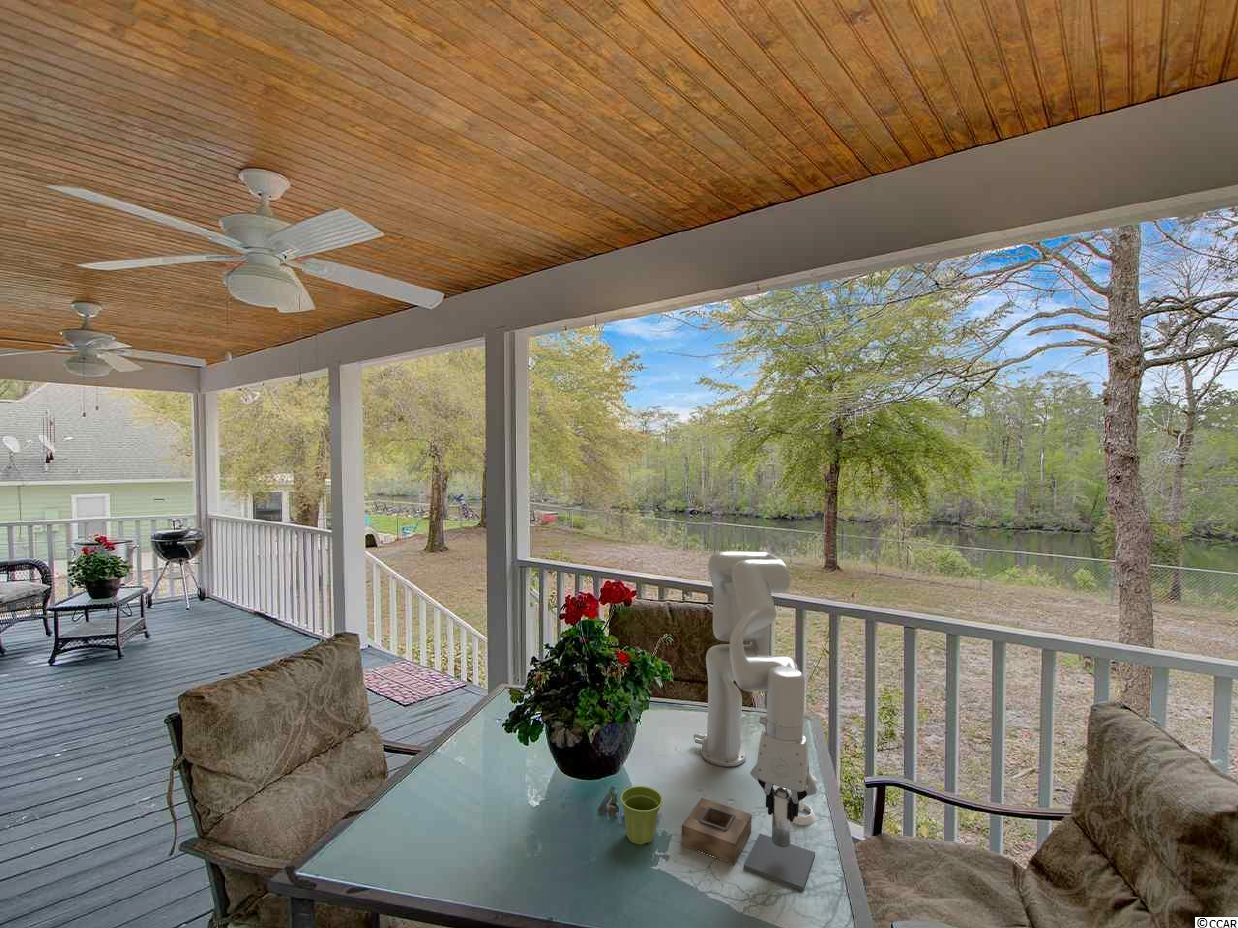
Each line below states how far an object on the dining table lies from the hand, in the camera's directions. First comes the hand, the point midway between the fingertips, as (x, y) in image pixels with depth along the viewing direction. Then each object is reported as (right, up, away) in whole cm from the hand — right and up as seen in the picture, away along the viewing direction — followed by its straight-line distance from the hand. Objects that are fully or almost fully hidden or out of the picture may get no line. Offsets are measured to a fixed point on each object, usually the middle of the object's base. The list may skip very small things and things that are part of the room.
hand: (781, 813), depth 123 cm
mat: (0, -10, 0) cm, 10 cm away
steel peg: (0, -6, 0) cm, 6 cm away
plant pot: (-30, -10, +7) cm, 32 cm away
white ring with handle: (+9, -11, +17) cm, 22 cm away
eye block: (-13, -10, +7) cm, 17 cm away
